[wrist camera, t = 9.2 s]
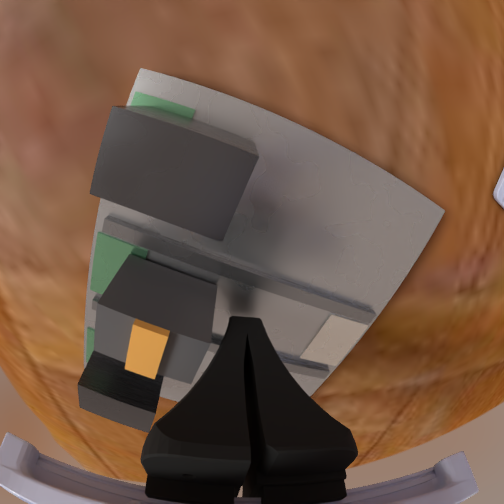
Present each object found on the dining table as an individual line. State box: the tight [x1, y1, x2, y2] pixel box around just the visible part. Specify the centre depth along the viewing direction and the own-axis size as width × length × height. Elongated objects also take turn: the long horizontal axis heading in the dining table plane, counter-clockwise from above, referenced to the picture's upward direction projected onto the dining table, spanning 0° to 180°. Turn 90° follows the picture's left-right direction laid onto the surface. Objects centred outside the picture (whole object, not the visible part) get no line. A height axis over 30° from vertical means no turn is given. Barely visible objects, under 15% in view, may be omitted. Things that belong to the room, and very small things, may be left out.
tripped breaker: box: [94, 254, 218, 384], centre depth 11 cm, size 4×2×4 cm, turn 67°
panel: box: [78, 68, 445, 433], centre depth 13 cm, size 14×17×5 cm
